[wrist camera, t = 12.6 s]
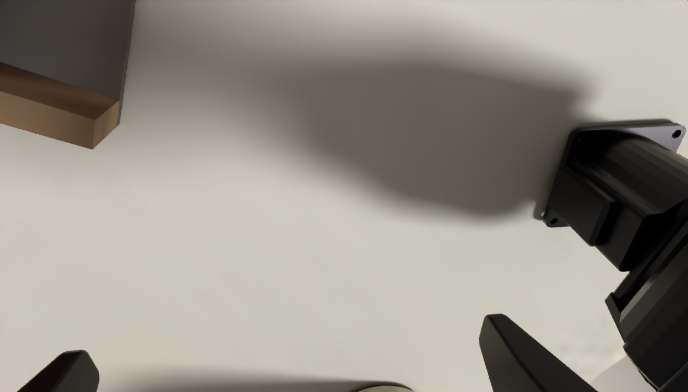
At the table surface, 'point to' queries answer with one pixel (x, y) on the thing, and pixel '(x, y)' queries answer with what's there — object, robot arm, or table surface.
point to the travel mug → (386, 389)
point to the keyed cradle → (64, 66)
